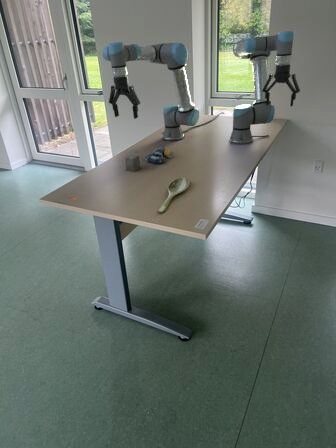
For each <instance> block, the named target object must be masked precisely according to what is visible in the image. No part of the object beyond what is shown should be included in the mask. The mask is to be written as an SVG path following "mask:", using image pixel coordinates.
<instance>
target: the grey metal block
mask: <svg viewBox="0 0 336 448" xmlns="http://www.w3.org/2000/svg"><path fill="white" fill-rule="evenodd" d="M124 164H125V170H126V171H128V172H133V173H135V172H137V171H138V170H140V169H141V160H140V155H139V154H133V153H130V154H128V155H126V156H125V157H124Z"/></svg>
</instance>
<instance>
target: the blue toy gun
mask: <svg viewBox="0 0 336 448" xmlns="http://www.w3.org/2000/svg"><path fill="white" fill-rule="evenodd" d="M164 156H165V157H166V158H168V159H172V158H173V157H174V156H175V154H174V151H172V150H169V149H166V148H165V147H156V148H155V150H153V151H151V152H150V153H149V154H147V155H146V156H145V159H144V160H145V162H147V163H152V164H155V165H156V164H162V163H163V162H165V159H166V158H165V157H164Z"/></svg>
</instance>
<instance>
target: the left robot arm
mask: <svg viewBox="0 0 336 448" xmlns="http://www.w3.org/2000/svg"><path fill="white" fill-rule="evenodd" d="M101 52H102V53H101V55H102V57H103V59H104V60H105V61H107V62H110V64H111V71H112V76H113V79H112V80H113V85H111V86H110V93H109V98H108V104H110V105H111V106H112V111H113V112H114V113H113V114H114V117H115V118H118V117H119V116H120V113H119V112H120V111H119V107H118V103H117V102H118V100H119V98H120V96H125V97H126V98H127V99H128V100H129V102H130V103H131V104H132V106H131V107H132V114H133V119H134V120H136V119H138V118H139V114H138V112H139V107H138V106H139V105H141V101H140V99H139V97H138V95H137V93H136V91H135V87H134V85H130V86H129V76H128V68H127V62H146V63H151V64H157V65H166V66H167V70H168V71H170V72H171V77H172V83H173V86H174V90H175V94H176V99H177V104H171V105H166V106H165V107H164V108H163V122H164V130H163V132H162V139H163V140H164V141H167V142H176V141H180V140H182V139H184V137H185V136H184V133H187V132H188V131H190V130H191V129H194V128H198V127H200V126H201V127H202V126H203V125H206V124H208V123H210V122H212V121H213V120H215V119H216V118H218V116H221V115H225V112H220V113H217V114H216V115H215V116H214V117H213V118H211V119H210V120H208V121H206V122H204V123H201V124H198V122H199V119H200V110H199V109H198V108H196V107H195V104H194V103H193V102H192V99H191V94H190V89H189V84H188V79H187V74H186V70H185V67H186V65H187V62H188V60H189V51H188V48H187V46H186V45H185V44H183V42H167V43H166V42H165V43H163V42H162V43H156V44H148V45H146V46H140V45H138V44H137V43H131V44H124V43H123V41H117V42H110V43H109V44H108V45H106V46H104V47H103V48H102V51H101ZM182 126H185V127H189V128H188V129H186V130H183V129H182Z"/></svg>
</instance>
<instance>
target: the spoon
mask: <svg viewBox="0 0 336 448" xmlns="http://www.w3.org/2000/svg"><path fill="white" fill-rule="evenodd" d="M190 184H191V183H190V179H189V178H188V177H178V178H175V179H173V180H172V181H170V183H169V184H168V186H167V191H168V196H167V198H166V199H165V200H164V201H163V203H162V204H161V205H160V207H159V208H158V210H157V212H158V213H164V212H166V211H167V208H168V206H169V204H170V202H171V200H172V199H173V198H174V197H176V196H177V195H179V194H181V193H183V192H185V191H186V190H187V189H188V188H189V186H190Z"/></svg>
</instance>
